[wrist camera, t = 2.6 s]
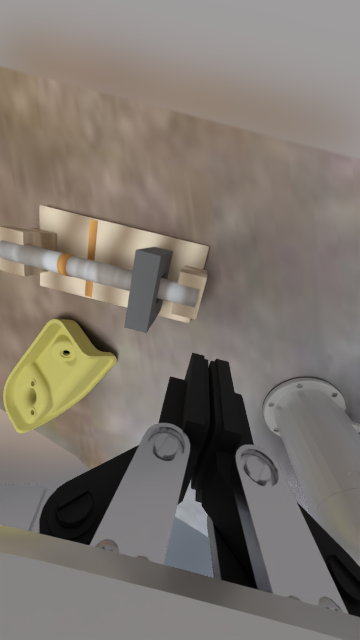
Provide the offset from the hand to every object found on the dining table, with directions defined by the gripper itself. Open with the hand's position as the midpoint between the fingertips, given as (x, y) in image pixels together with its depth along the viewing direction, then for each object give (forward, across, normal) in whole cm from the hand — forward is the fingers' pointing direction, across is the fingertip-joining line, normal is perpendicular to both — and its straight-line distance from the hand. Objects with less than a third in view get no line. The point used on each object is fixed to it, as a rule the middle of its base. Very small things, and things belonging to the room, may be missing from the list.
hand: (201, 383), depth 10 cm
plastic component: (+24, +20, +20) cm, 37 cm away
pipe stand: (+23, +12, 0) cm, 26 cm away
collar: (+20, +6, 0) cm, 21 cm away
